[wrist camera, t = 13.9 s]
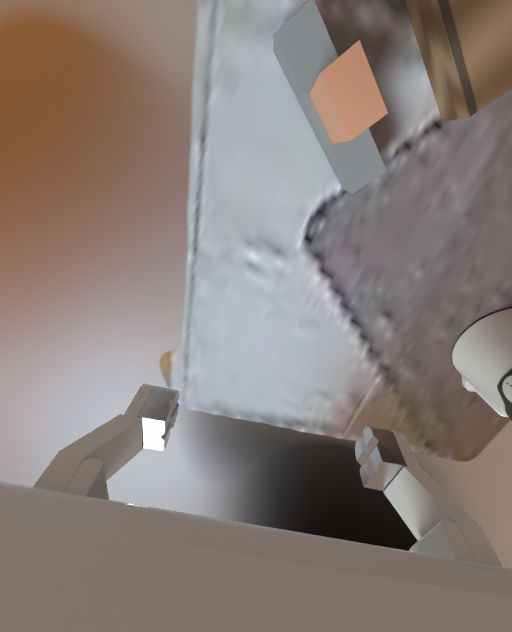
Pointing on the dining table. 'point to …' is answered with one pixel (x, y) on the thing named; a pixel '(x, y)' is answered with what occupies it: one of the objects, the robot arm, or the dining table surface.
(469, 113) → the block
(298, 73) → the stub
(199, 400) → the dining table surface
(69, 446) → the robot arm
